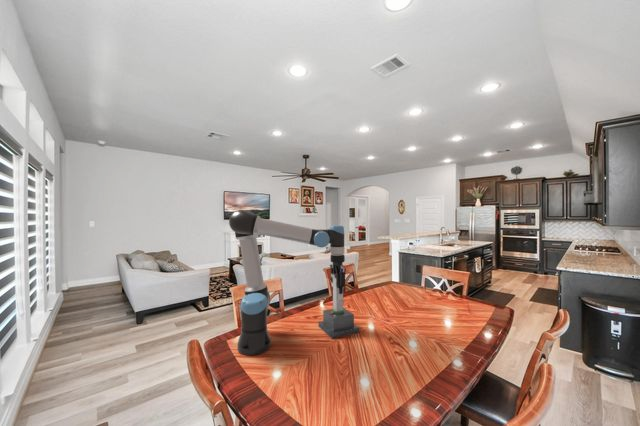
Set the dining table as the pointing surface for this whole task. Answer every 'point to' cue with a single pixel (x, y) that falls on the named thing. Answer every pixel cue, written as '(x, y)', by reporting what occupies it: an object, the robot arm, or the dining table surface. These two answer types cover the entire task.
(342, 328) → the stand base
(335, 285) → the column
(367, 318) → the dining table surface
